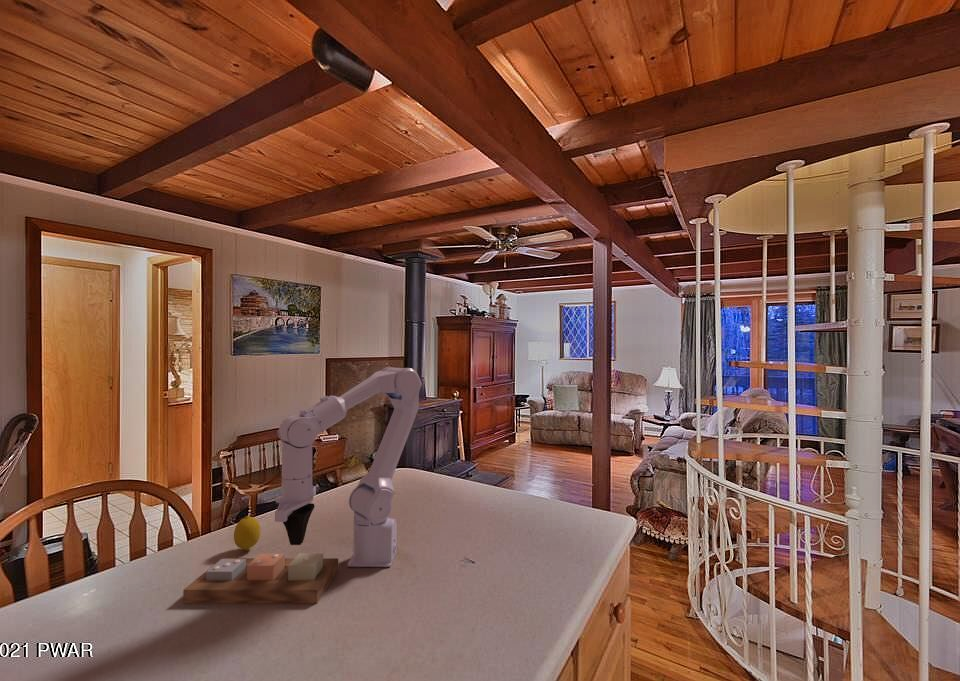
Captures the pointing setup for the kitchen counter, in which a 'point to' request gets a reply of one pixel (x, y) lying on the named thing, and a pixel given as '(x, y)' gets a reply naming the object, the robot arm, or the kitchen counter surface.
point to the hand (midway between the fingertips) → (296, 543)
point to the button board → (261, 587)
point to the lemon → (247, 533)
